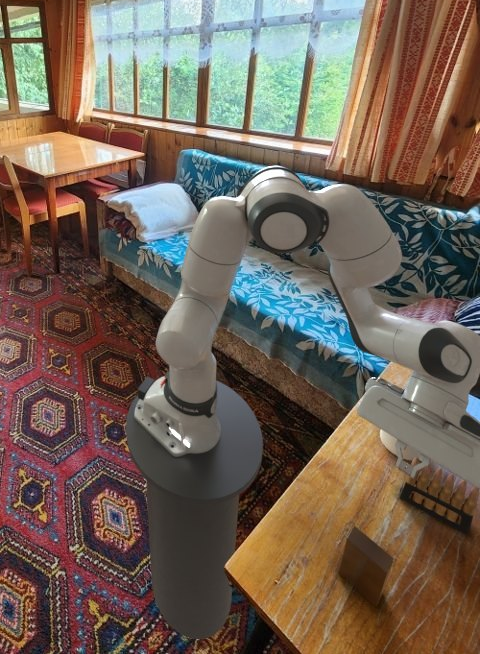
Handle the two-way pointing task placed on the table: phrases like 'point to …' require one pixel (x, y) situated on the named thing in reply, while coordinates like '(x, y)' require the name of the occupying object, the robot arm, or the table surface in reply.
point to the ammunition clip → (440, 497)
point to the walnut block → (365, 565)
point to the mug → (390, 445)
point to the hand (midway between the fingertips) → (404, 472)
